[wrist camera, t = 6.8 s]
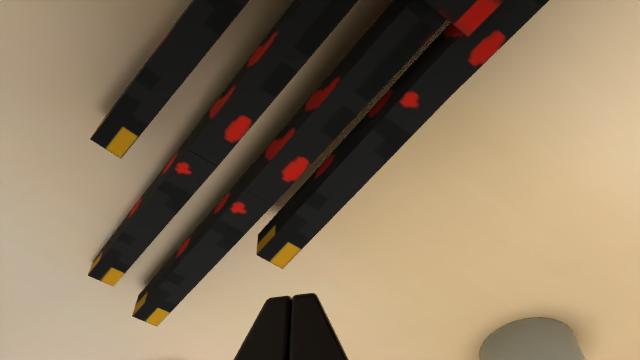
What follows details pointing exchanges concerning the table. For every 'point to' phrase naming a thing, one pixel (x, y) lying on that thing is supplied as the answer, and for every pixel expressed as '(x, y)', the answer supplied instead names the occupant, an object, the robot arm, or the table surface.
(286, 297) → the robot arm
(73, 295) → the table surface
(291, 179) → the toy
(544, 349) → the grey cylinder
